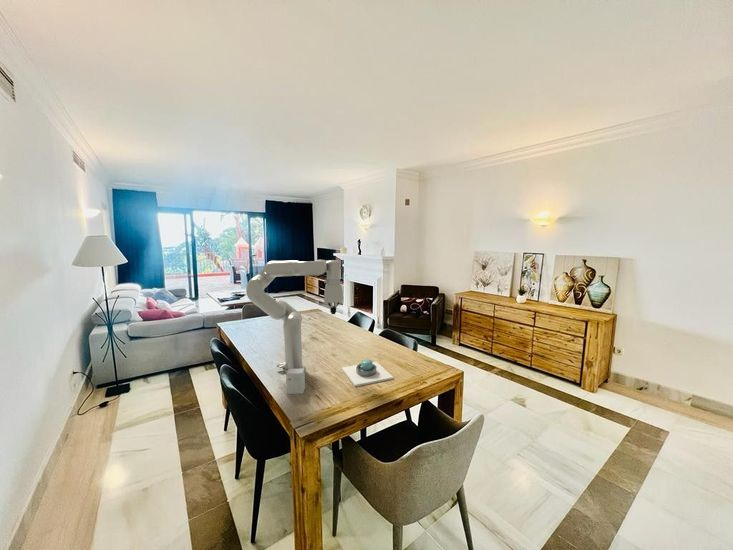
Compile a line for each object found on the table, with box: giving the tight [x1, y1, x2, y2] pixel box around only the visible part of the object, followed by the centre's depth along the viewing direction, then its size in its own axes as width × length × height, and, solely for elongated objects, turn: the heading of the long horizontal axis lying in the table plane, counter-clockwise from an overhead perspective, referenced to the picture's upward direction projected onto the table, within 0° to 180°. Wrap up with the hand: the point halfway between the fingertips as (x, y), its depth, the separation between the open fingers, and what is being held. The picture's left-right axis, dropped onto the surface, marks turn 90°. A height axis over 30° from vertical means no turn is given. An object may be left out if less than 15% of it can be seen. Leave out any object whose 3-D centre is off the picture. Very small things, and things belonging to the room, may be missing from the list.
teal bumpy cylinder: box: [360, 359, 374, 370], centre depth 164 cm, size 7×6×6 cm
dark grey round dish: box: [356, 362, 376, 377], centre depth 164 cm, size 11×11×3 cm
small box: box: [285, 368, 306, 395], centre depth 145 cm, size 8×6×10 cm
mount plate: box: [341, 361, 394, 388], centre depth 165 cm, size 22×22×1 cm
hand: (333, 313), depth 171 cm, fingers closed
